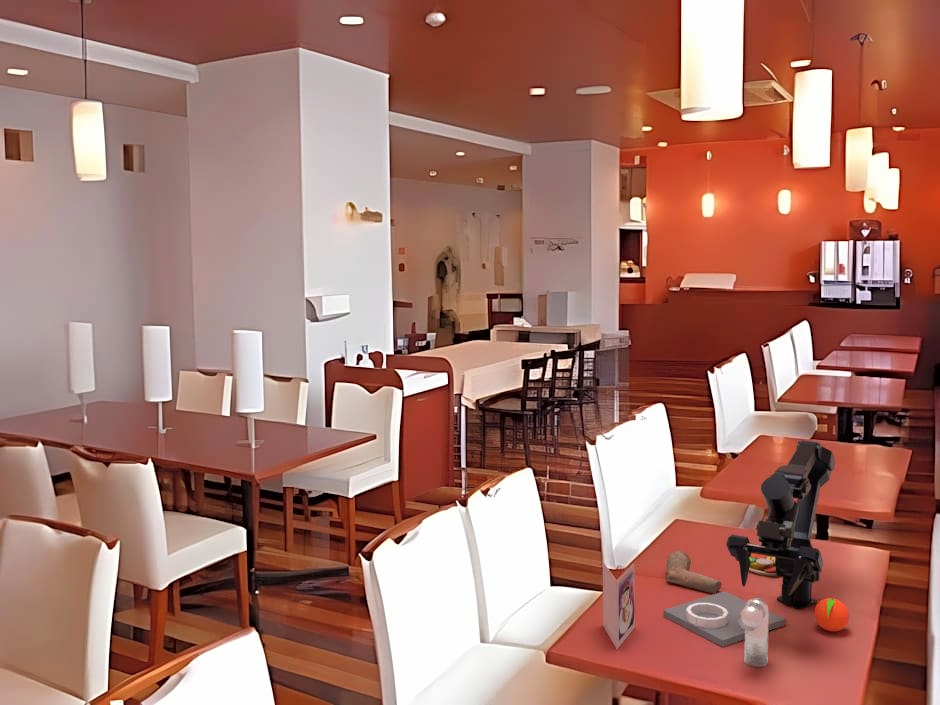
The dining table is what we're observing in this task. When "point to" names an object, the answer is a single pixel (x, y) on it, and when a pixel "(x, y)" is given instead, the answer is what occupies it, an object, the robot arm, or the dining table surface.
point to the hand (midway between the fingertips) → (765, 590)
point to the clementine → (831, 614)
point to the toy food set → (762, 564)
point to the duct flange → (716, 618)
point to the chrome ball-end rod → (755, 632)
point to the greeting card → (619, 604)
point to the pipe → (688, 574)
